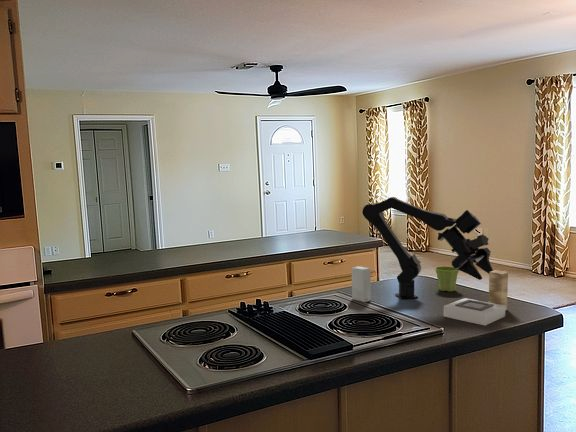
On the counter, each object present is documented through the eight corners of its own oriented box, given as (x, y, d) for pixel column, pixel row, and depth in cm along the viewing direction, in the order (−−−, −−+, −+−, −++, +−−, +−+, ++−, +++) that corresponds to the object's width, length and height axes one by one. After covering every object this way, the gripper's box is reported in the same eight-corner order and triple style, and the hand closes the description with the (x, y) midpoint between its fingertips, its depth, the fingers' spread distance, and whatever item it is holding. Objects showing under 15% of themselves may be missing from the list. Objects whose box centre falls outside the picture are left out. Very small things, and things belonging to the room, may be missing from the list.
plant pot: (429, 288, 205) (429, 267, 204) (447, 286, 209) (447, 265, 208) (445, 293, 197) (446, 271, 196) (464, 291, 200) (464, 269, 200)
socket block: (443, 316, 167) (443, 304, 166) (464, 308, 176) (464, 296, 176) (485, 325, 157) (485, 313, 156) (505, 316, 166) (505, 304, 166)
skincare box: (371, 300, 188) (371, 267, 187) (363, 302, 185) (363, 269, 184) (359, 297, 193) (359, 265, 191) (350, 299, 190) (350, 267, 189)
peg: (488, 309, 174) (489, 272, 173) (494, 307, 177) (495, 270, 176) (501, 312, 171) (502, 273, 170) (506, 309, 174) (508, 271, 173)
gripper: (460, 230, 172) (491, 266, 165) (485, 225, 185) (516, 258, 178) (438, 250, 178) (468, 286, 171) (464, 244, 191) (493, 278, 184)
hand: (487, 277), depth 176 cm, fingers open, 9 cm apart
